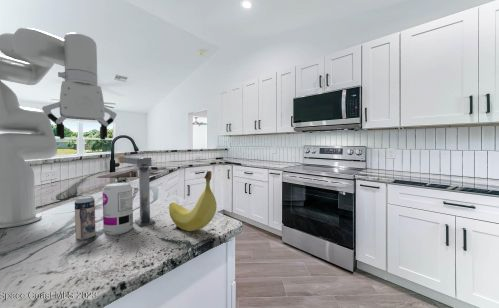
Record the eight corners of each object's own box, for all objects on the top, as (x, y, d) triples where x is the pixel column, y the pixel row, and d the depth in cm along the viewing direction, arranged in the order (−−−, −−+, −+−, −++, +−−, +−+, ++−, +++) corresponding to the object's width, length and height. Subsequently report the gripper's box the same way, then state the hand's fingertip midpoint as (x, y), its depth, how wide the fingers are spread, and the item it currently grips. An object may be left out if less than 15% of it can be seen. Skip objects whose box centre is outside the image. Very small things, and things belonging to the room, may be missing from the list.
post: (135, 223, 78) (134, 167, 77) (149, 219, 82) (148, 166, 81) (140, 226, 74) (139, 168, 74) (155, 223, 78) (154, 167, 77)
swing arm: (153, 166, 77) (153, 157, 77) (139, 167, 74) (139, 157, 74) (127, 162, 96) (126, 155, 96) (114, 163, 92) (114, 155, 92)
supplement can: (102, 237, 66) (100, 187, 65) (105, 228, 73) (104, 183, 73) (133, 232, 70) (132, 185, 69) (133, 224, 77) (132, 181, 76)
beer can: (85, 241, 63) (83, 199, 63) (71, 239, 64) (70, 198, 64) (99, 234, 68) (98, 195, 67) (86, 233, 69) (85, 195, 68)
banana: (163, 224, 77) (162, 167, 76) (178, 220, 81) (177, 165, 80) (205, 243, 62) (205, 172, 61) (221, 236, 67) (220, 170, 66)
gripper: (41, 70, 56) (44, 138, 56) (119, 83, 68) (120, 139, 68) (40, 76, 61) (42, 138, 62) (112, 88, 73) (113, 139, 74)
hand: (83, 139), depth 65 cm, fingers open, 9 cm apart
